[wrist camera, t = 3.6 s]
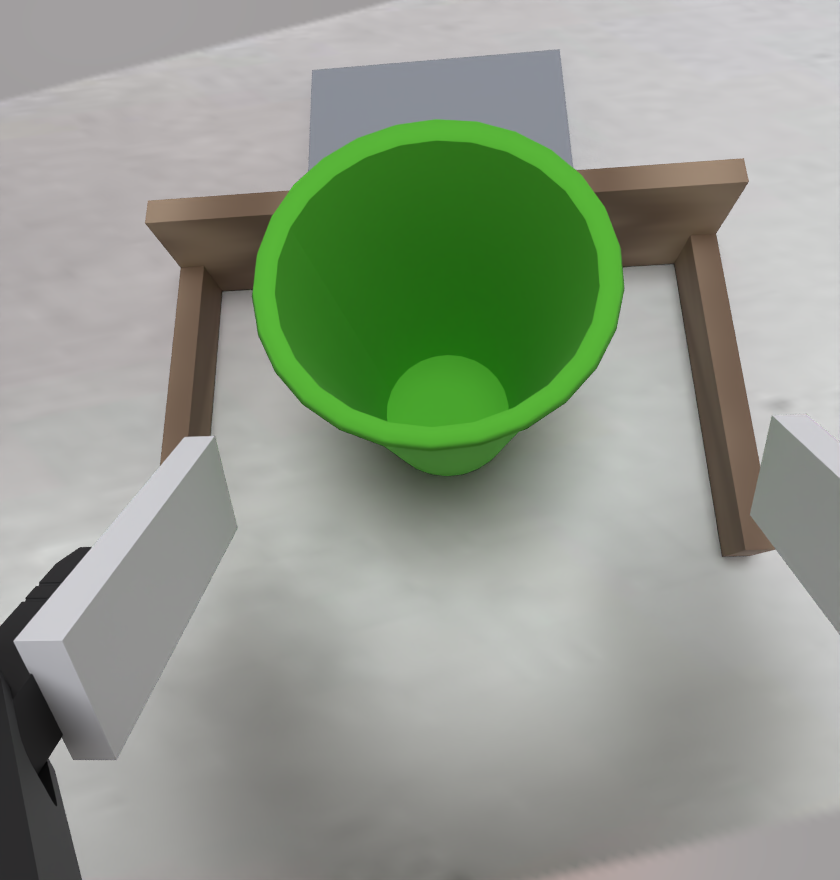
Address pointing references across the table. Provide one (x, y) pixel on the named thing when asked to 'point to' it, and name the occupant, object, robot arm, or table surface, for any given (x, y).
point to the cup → (438, 289)
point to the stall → (642, 243)
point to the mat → (442, 98)
